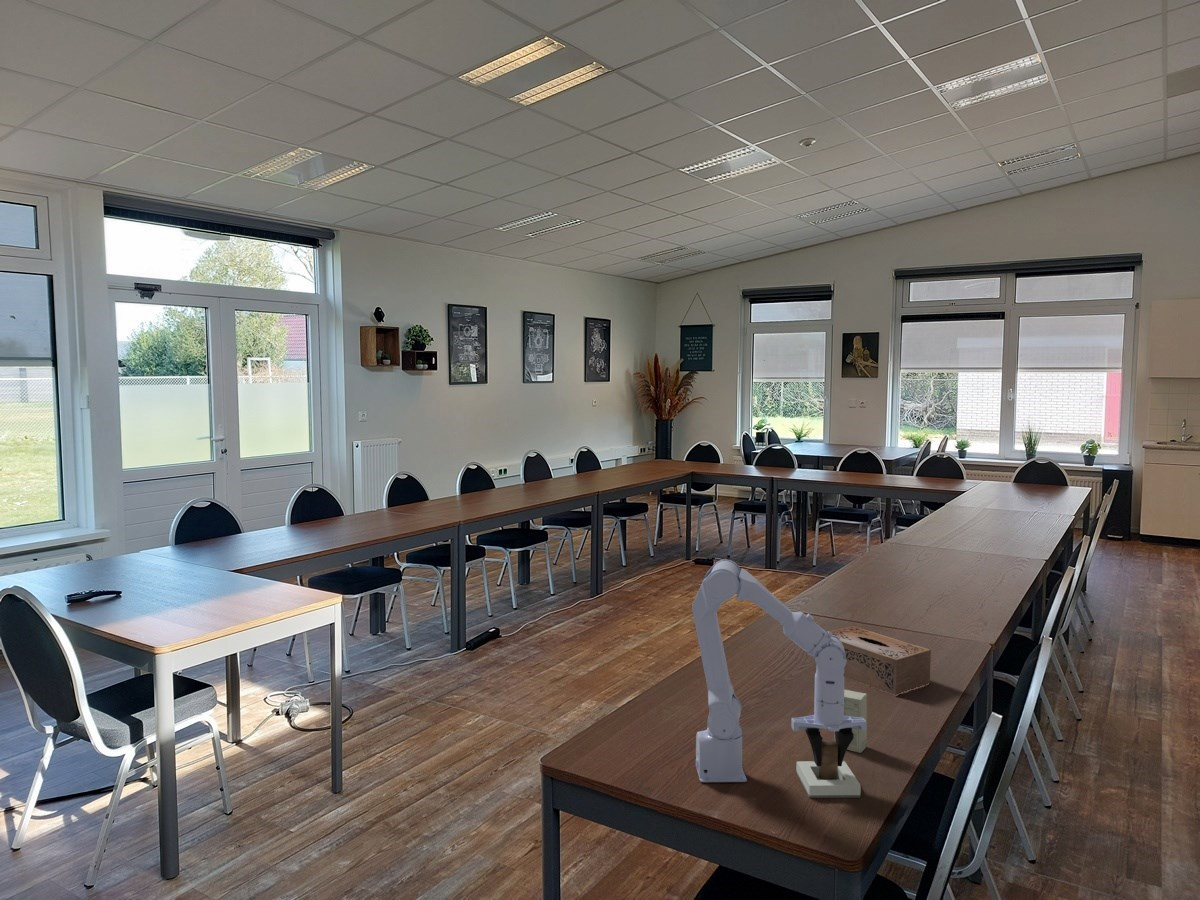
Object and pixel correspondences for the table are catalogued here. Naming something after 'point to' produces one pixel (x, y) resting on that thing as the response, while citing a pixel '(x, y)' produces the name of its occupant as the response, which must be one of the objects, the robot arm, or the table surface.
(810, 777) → the socket block
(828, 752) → the pin
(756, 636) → the table surface
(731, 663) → the table surface
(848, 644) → the tissue box cover
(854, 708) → the skincare box
